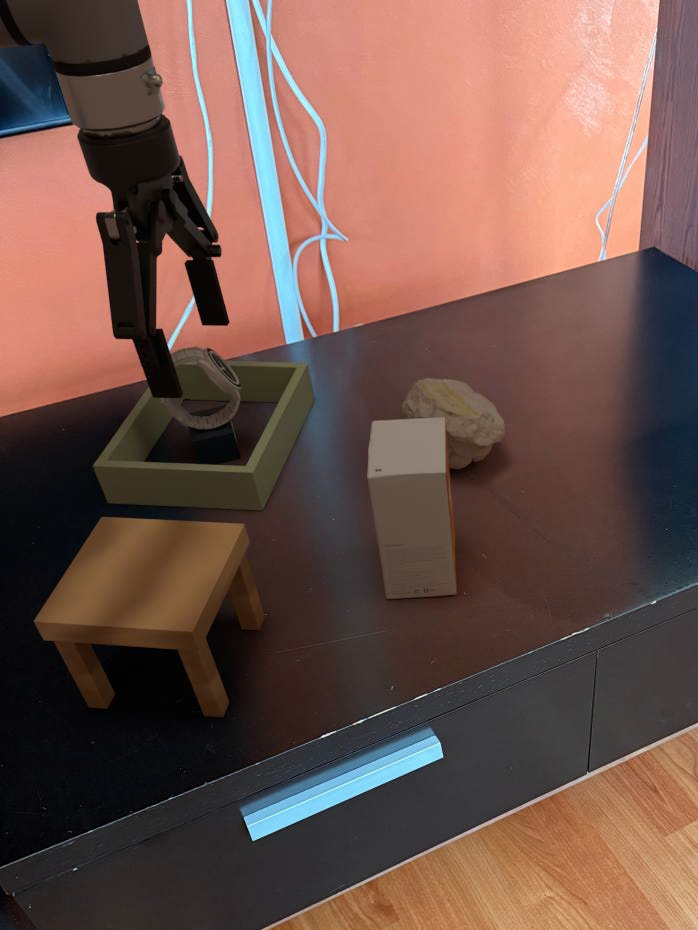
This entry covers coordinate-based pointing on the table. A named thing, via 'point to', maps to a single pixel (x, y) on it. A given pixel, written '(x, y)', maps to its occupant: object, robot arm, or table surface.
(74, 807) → the table surface
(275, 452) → the olive green rectangular frame
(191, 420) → the watch
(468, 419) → the beige rock
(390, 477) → the small box
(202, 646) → the stool
